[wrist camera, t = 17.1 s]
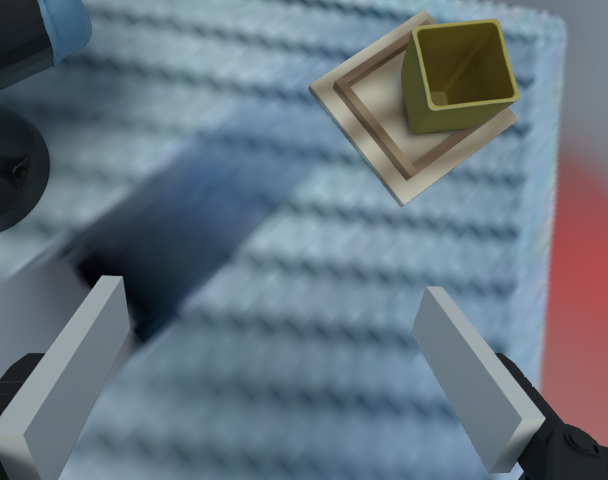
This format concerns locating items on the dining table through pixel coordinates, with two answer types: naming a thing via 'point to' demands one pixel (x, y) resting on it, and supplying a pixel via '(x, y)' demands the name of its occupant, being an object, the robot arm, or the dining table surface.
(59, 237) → the dining table surface
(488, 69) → the flower pot
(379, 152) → the birch tray
